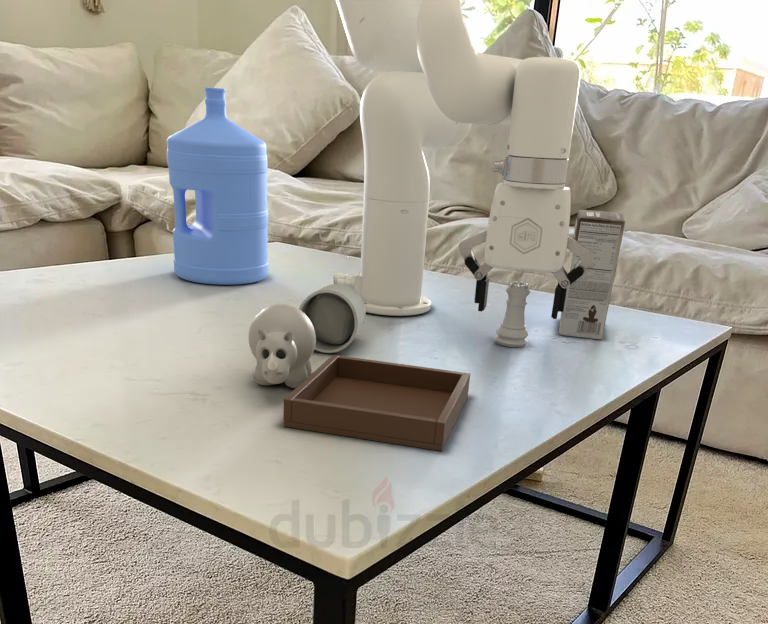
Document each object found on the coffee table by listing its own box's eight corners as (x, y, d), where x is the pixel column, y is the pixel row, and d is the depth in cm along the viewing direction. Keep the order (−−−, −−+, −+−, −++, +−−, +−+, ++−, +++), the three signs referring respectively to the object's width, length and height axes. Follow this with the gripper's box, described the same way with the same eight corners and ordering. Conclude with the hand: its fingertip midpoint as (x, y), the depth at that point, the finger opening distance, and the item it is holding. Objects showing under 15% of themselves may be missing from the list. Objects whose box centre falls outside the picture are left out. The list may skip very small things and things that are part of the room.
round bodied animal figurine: (234, 406, 79) (231, 322, 75) (256, 369, 90) (255, 294, 86) (304, 411, 79) (305, 328, 75) (318, 374, 90) (320, 299, 86)
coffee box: (558, 320, 119) (577, 208, 112) (601, 324, 118) (622, 212, 111) (558, 335, 111) (578, 216, 104) (603, 340, 110) (627, 220, 103)
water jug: (254, 265, 141) (251, 90, 128) (280, 284, 129) (279, 92, 116) (166, 267, 135) (154, 83, 122) (184, 287, 123) (172, 85, 110)
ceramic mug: (367, 339, 103) (369, 279, 100) (356, 356, 96) (358, 293, 93) (289, 332, 105) (288, 273, 101) (272, 349, 97) (271, 286, 94)
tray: (283, 426, 75) (283, 399, 74) (332, 378, 89) (332, 354, 87) (441, 451, 72) (444, 423, 71) (467, 397, 86) (470, 373, 84)
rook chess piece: (491, 338, 108) (498, 279, 104) (522, 339, 108) (531, 280, 104) (498, 347, 104) (506, 286, 100) (530, 348, 104) (540, 287, 101)
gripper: (461, 170, 94) (449, 312, 102) (607, 180, 91) (583, 326, 99) (470, 167, 101) (458, 300, 109) (607, 176, 97) (584, 313, 105)
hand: (517, 313), depth 104 cm, fingers open, 9 cm apart
